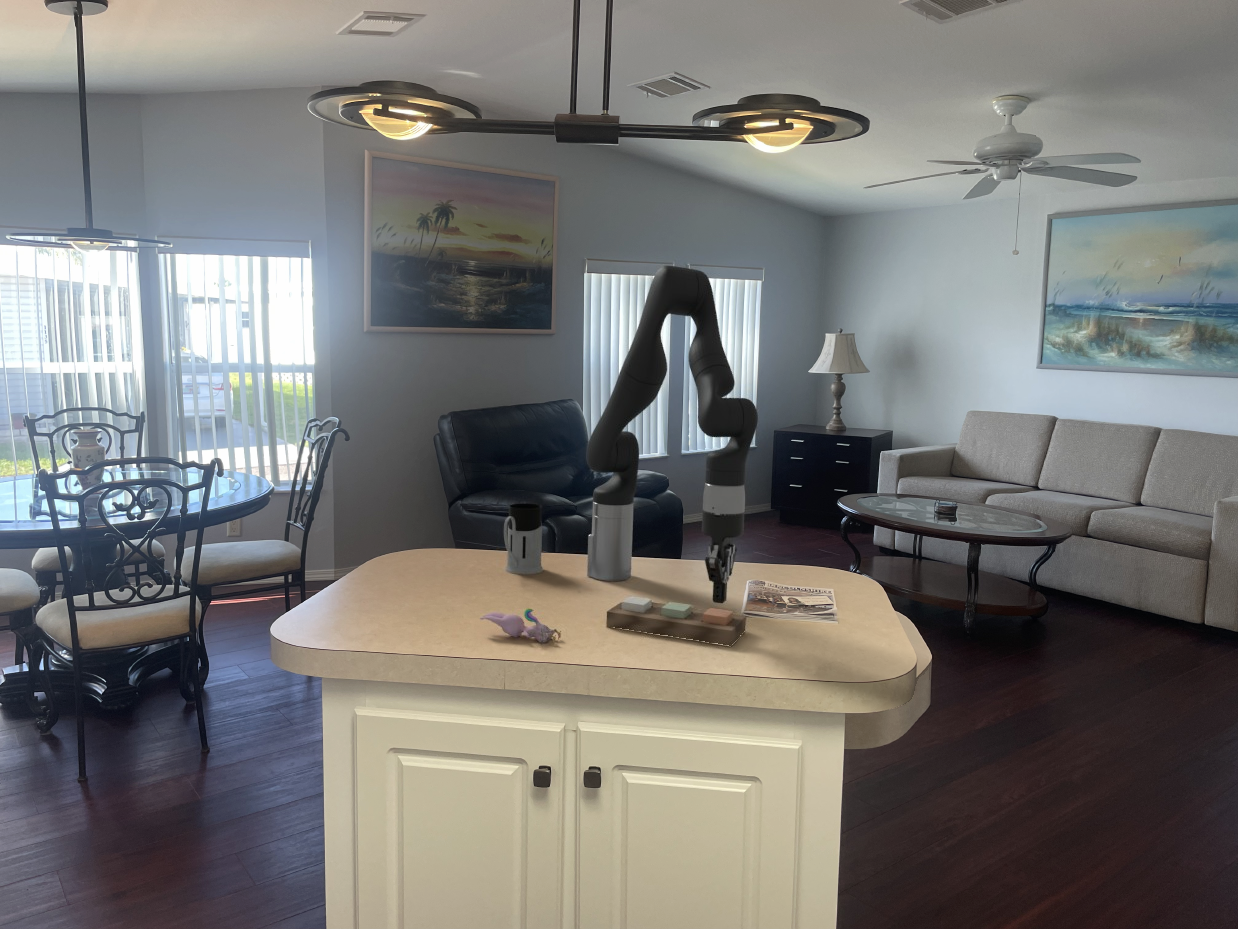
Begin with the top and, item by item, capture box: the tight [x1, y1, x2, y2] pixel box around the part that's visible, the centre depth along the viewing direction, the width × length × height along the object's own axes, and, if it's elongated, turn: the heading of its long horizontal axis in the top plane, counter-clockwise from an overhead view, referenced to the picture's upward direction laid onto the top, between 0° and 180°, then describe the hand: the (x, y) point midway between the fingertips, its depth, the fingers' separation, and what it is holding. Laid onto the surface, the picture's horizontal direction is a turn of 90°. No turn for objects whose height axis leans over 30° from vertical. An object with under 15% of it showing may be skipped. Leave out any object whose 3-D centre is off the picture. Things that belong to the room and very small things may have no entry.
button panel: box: [605, 601, 747, 647], centre depth 168 cm, size 24×10×3 cm, turn 68°
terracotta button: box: [703, 607, 734, 625], centre depth 164 cm, size 4×4×3 cm
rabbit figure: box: [479, 608, 562, 645], centre depth 160 cm, size 6×6×15 cm
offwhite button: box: [621, 595, 653, 613], centre depth 170 cm, size 4×4×3 cm
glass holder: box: [503, 502, 544, 575], centre depth 205 cm, size 9×14×15 cm, turn 159°
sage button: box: [661, 601, 693, 619], centre depth 167 cm, size 4×4×3 cm
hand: (719, 602), depth 164 cm, fingers closed
